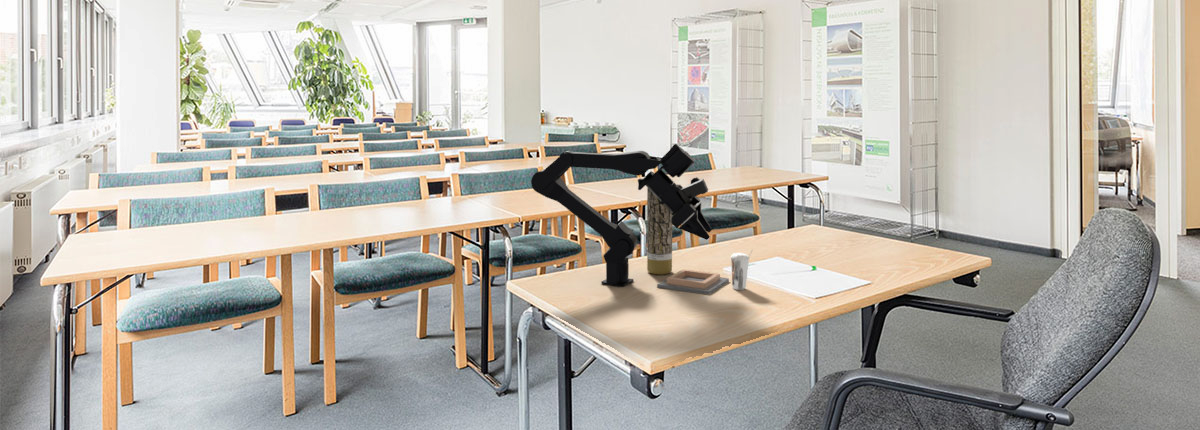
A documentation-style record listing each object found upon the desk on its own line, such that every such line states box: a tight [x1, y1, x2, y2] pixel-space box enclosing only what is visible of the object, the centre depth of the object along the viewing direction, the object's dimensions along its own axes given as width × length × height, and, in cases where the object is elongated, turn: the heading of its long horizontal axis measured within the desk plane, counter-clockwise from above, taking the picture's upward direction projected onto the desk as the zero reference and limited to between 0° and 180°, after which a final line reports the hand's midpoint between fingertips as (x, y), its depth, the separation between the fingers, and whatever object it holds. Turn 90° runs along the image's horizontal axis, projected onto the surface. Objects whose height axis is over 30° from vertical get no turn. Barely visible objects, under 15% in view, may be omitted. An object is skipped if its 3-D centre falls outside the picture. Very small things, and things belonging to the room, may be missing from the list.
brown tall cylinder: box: [646, 186, 673, 276], centre depth 193 cm, size 7×7×25 cm
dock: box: [656, 269, 730, 295], centre depth 182 cm, size 14×14×2 cm
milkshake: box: [730, 250, 753, 291], centre depth 177 cm, size 4×5×10 cm
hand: (709, 234), depth 178 cm, fingers open, 9 cm apart
